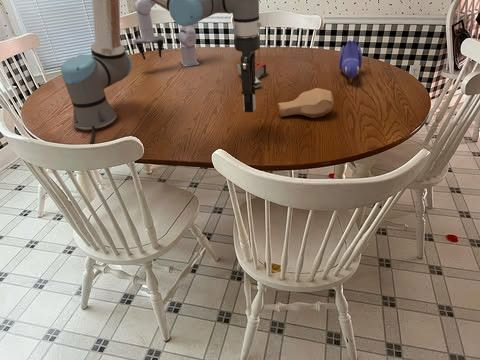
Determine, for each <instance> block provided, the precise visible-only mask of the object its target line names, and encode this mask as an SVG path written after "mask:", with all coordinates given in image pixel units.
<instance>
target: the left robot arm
mask: <svg viewBox="0 0 480 360" xmlns="http://www.w3.org/2000/svg"><path fill="white" fill-rule="evenodd" d="M151 1H152V2H154V3H156V4H155V5H157V6H160V7H161V8H163V9H165V10H166V11H168V12H169V16H170V17H171V18H172V20H173V21H174V23H176V25H179V26H180V27H182V26H189V25H193V24H194V25H196V24H197V23H199V22H201V21H202V20H204V19H207V18H209V17H211V16H213V15H215V14H232V23H233V24H232V25H233V35H234V38H233V39H234V49H235V50H236V51H238V52H240V53H241V56H240V63H239V64H240V67H241V75H240V77H241V88H242V89H241V92H240V93H241V94H242V95H244V106H245V111H244V113H253V112H254V111H253V94H254V95H255V96H256V88H255V87H253V86H257V83H255V81H256V79H255V66H256V64H255V62H256V51H258V50H259V49H260V48H261V36H260V35H259V34H260V27H262V23H261V22H260V0H151ZM91 2H92V3H91V4H92V16H93V19H92V20H93V31H94V42H93V43H92V44H91V45H90V51H91V54H78V55H77V56H72V57H70V58H68V59H67V60H65V61H63V62H62V64H61V66H60V72H61V75H62V76H61V77H62V81H63V82H64V84H65V87H66V89H67V93H68V95H69V99H70V101H71V104H72V108H73V114H72V117H73V118H72V119H73V125H74V128H75V129H76V131H78V132H84V133H91V136H90V142H89V144H90V145H91V144H92V145H94V142H95V133H96V132H99V131H102V130H105V129H107V128H110V127H111V126H113V125H115V124H116V122H117V121H118V116H117V113H116V111H115V110H114V108H113V107H112V105H111V103H110V102H109V101H108V99H107V96H106V92H105V89H107V88H109V87H111V86H112V85H115V84H116V83H118V82H120V81H123V80H124V79H125V78H126V77H127V76H129V75H130V73H131V70H132V60H131V57H130V56H129V53H128V52H127V51H126V48H125V46H124V45H123V44H122V43H121V12H120V11H121V8H120V7H121V5H120V0H91Z"/></svg>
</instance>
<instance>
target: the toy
mask: <svg viewBox="0 0 480 360" xmlns="http://www.w3.org/2000/svg"><path fill="white" fill-rule="evenodd" d="M358 42H359V40H357V39H353V40H351V39H348V40H347V41H346V45H343V44H342V47H341V49H340V52H339V55H338V69H339V70H340V71H341V72H342V73H343V74H344V75H345V76H346V77H347V78H348V79H349V83H350V84H352V82H353V79H354V78H355V77H356V76H357V75H358V74H359V73H360V70H361V68H362V65H363V53H362V47H361V46H360V44H358Z"/></svg>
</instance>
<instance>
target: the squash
mask: <svg viewBox="0 0 480 360" xmlns="http://www.w3.org/2000/svg"><path fill="white" fill-rule="evenodd" d="M334 102H335V100H334V96H333V93H332V91H330V90H329V89H325V88H319V87H315V88H312V89H310V90H307V91H303V92H301V93H300V94H299V95H298V96H297V97H296V98H295V99H293V100H290V101H287V102H286V101H284V102H279V103H277V109H278V113H279V116H280V117H281V118H283V117H288V116H293V115H294V116H295V115H300V116H305V117H308V118H311V119H315V118H322V117H324V116H326V115H328V114H330V113H331V112H332V110H333V107H334Z"/></svg>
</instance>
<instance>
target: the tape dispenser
mask: <svg viewBox="0 0 480 360" xmlns="http://www.w3.org/2000/svg"><path fill="white" fill-rule="evenodd" d="M240 64H241V63H238V64H236V69H237V71H236V72H237V75H239V76H241V67H240ZM266 73H267V63H266V62H265V61H264V60H260V61H255V79H256V81H255V83H257V86H253V87H255V89H258V88H260V87H262V82H261V81H260V80H259V78H261V76H265V75H267V74H266Z"/></svg>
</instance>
